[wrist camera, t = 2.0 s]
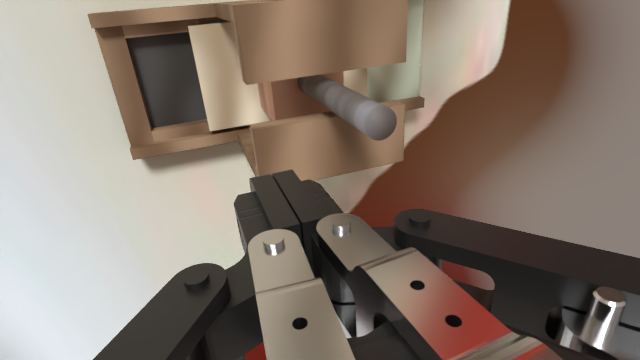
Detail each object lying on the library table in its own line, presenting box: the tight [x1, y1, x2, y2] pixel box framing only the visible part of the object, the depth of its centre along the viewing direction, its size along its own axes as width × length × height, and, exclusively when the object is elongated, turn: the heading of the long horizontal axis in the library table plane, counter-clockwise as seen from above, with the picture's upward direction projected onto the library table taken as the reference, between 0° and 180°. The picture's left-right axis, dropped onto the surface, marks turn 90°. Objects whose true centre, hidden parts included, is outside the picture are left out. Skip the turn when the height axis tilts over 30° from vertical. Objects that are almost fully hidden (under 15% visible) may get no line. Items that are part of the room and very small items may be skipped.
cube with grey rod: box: [188, 22, 397, 141], centre depth 28 cm, size 16×9×19 cm, turn 95°
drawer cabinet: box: [88, 0, 424, 181], centre depth 32 cm, size 30×12×14 cm, turn 95°
